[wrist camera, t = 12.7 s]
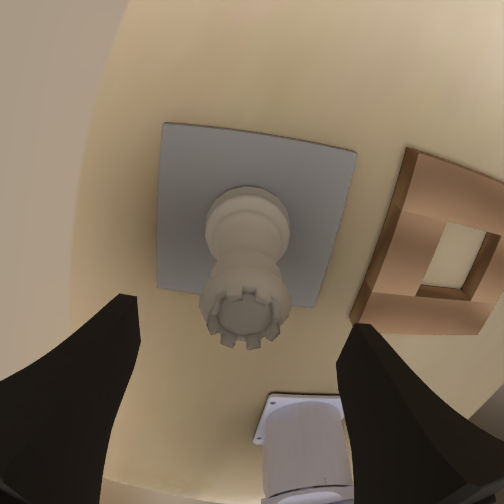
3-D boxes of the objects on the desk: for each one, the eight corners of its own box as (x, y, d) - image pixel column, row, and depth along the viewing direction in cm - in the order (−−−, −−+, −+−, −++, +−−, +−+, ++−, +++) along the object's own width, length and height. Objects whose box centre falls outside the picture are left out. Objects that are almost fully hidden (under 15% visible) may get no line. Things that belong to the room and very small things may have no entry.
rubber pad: (312, 302, 21) (313, 307, 20) (159, 282, 20) (157, 287, 20) (354, 151, 16) (358, 153, 15) (165, 122, 15) (162, 123, 15)
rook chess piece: (211, 260, 19) (189, 367, 12) (202, 185, 16) (164, 269, 9) (289, 257, 18) (308, 364, 11) (288, 181, 16) (316, 263, 9)
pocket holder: (469, 323, 22) (477, 335, 21) (349, 317, 22) (354, 331, 20) (529, 194, 17) (541, 202, 15) (406, 146, 16) (418, 153, 14)
